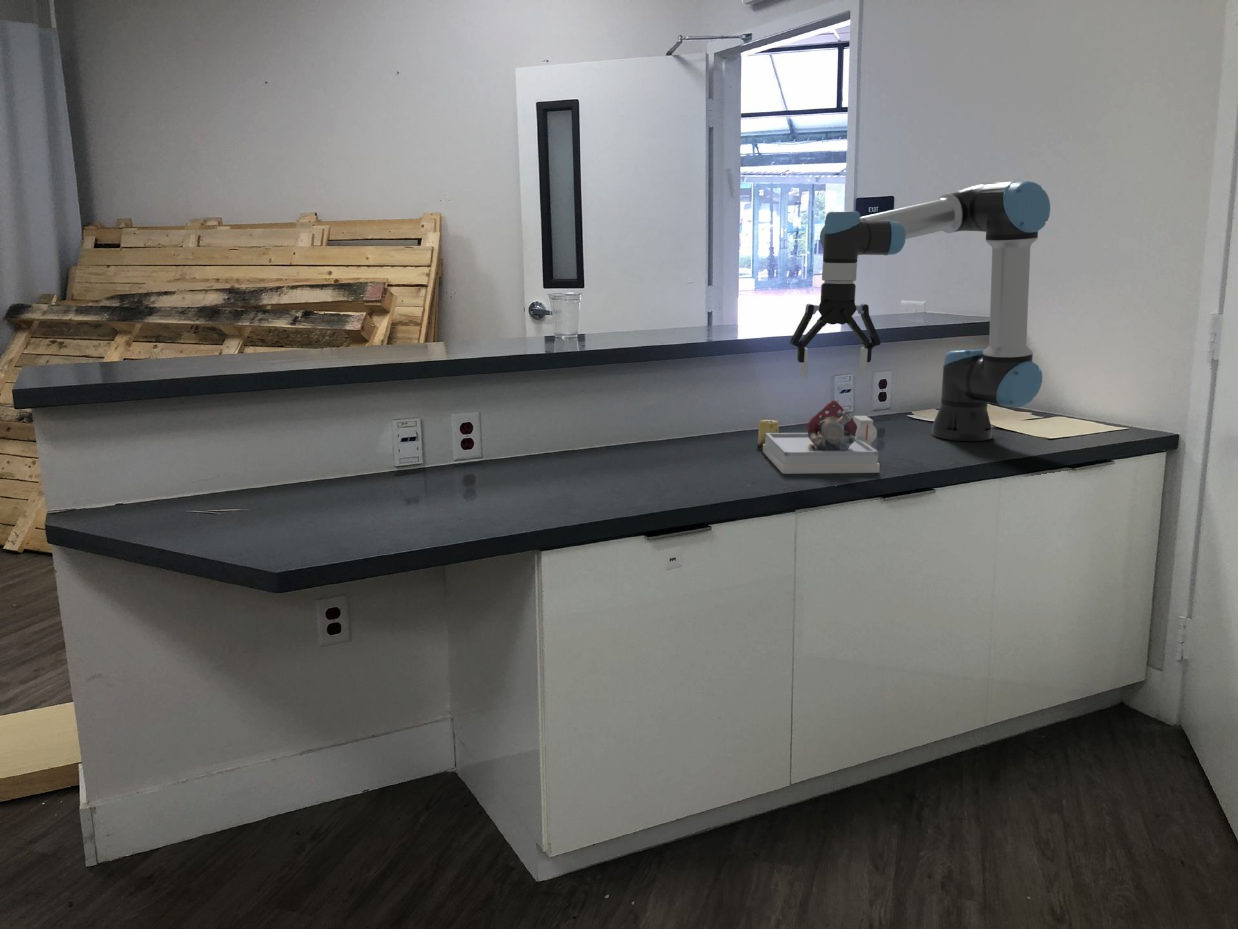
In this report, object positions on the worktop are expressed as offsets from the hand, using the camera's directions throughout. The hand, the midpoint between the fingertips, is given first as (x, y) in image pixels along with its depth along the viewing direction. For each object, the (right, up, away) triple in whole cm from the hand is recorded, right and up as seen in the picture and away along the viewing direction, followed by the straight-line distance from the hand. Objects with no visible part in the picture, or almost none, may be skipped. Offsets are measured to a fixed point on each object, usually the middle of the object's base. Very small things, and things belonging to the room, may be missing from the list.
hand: (833, 376), depth 221 cm
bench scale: (0, -19, +7) cm, 21 cm away
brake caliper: (0, -16, +3) cm, 17 cm away
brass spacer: (-11, -15, +25) cm, 31 cm away
